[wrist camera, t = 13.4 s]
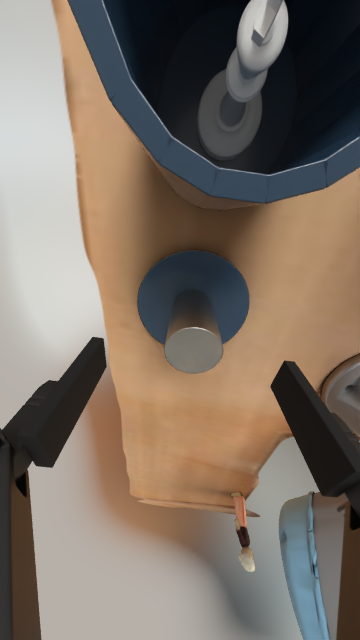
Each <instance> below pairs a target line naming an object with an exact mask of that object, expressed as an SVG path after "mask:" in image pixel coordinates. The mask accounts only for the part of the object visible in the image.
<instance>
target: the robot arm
mask: <svg viewBox="0 0 360 640" xmlns="http://www.w3.org/2000/svg"><path fill="white" fill-rule="evenodd" d="M105 368H106V357H105V348H104V339H103V338H97V337H92V338H91V340H90V341H89V342H88V344H87V345H86V346H85V347H84V349H83V350H82V351H81V353H80V354H79V355H78V357H77V358H76V359H75V360H74V362H73V363H72V364H71V366H70V367H69V368H68V369H67V371H66V372H65V373H64V375H63V376H62V377H61V378H60V380H59V381H51V380H49V381H47V382H46V383H44V384H43V385H42V386H40V387H39V388H38V389H37V390H36V391H35V393H34V394H33V395H32V397H31V398H29V400H28V401H27V402H26V403H25V405H23V406H22V408H21V409H20V410H19V411H18V412H17V414H16V415H15V416H14V417H13V418H12V419H11V420H10V422H9V423H8V424H7V425H6V426H5V427H4V429H3V430H1V429H0V640H41V629H40V617H39V603H38V591H37V578H36V565H35V553H34V540H33V528H32V514H31V501H30V489H29V476H28V470H27V468H28V467H29V465H30V464H31V462H32V461H33V462H34V464H35V465H36V466H41V467H51V468H52V467H53V466H54V464H55V462H56V460H57V458H58V456H59V454H60V452H61V451H62V449H63V447H64V445H65V443H66V441H67V439H68V438H69V436H70V434H71V432H72V430H73V428H74V426H75V425H76V423H77V421H78V419H79V417H80V415H81V413H82V412H83V410H84V408H85V406H86V404H87V402H88V400H89V398H90V397H91V395H92V393H93V391H94V389H95V387H96V385H97V384H98V382H99V380H100V378H101V376H102V374H103V372H104V370H105ZM270 387H271V389H272V391H273V393H274V395H275V397H276V399H277V401H278V404H279V406H280V408H281V410H282V412H283V414H284V416H285V418H286V421H287V423H288V425H289V427H290V429H291V431H292V433H293V436H294V438H295V440H296V442H297V444H298V446H299V448H300V450H301V453H302V455H303V456H304V459H305V461H306V463H307V465H308V467H309V469H310V472H311V474H312V476H313V478H314V480H315V482H316V484H317V487H318V489H319V491H320V492H318V493H314V492H313V491H311V492H309V493H308V495H305V496H301V497H298V498H294V499H291V500H288V501H287V502H285V503H284V505H283V506H282V508H281V512H280V516H279V538H280V547H281V555H282V561H283V567H284V572H285V577H286V581H287V586H288V590H289V594H290V598H291V602H292V605H293V608H294V612H295V615H296V619H297V622H298V625H299V628H300V631H301V634H302V637H303V640H360V442H359V440H358V439H357V437H356V436H355V435H354V434H353V433H352V431H353V432H354V433H355V434H356V435H358V436H359V437H360V354H358V355H356V356H354V357H353V358H351V359H349V360H347V361H346V362H344V363H343V364H341V365H340V366H339V367H338V368H336V369H335V370H334V371H333V372H332V373H331V374H330V375H329V377H328V378H327V379H326V381H325V383H324V385H323V387H322V392H321V396H322V400H323V401H322V400H321V398H320V397H319V396H318V394H317V393H316V391H315V390H314V389H313V387H312V386H311V384H310V383H309V382H308V380H307V379H306V377H305V376H304V374H303V373H302V372H301V370H300V369H299V367H298V366H297V365H296V363H295V362H292V361H284V362H283V364H282V366H281V368H280V369H279V371H278V373H277V375H276V377H275V378H274V380H273V382H272V384H271V386H270ZM323 402H324V403H325V404H324V403H323ZM326 406H327V407H326ZM328 409H329V410H328ZM330 412H331V413H330ZM351 430H352V431H351Z"/></svg>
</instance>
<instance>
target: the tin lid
mask: <svg viewBox="0 0 360 640" xmlns="http://www.w3.org/2000/svg"><path fill="white" fill-rule="evenodd" d="M137 302H138V311H139V315H140V318H141V321H142V323H143V325H144V326H145V328H146V329H147V331H148V332H149V333H150V334H151V335H152V336H153V337H154V338H155V339H156V340H158V341H159V342H160V343H162V344H164V345H165V347H164V352H165V357H166V359H167V361H168V362H169V363H170V364H171V365H172V366H173V367H174V368H176V369H177V370H179V371H182V372H185V373H202V372H206V371H208V370H210V369H212V368H213V367H215V366H216V365H217V364H218V363H219V362H220V360H221V358H222V355H223V345H222V344H224V343H225V342H227V341H228V340H230V339H231V338H232V337H233V336H234V335H235V334H236V333H237V332H238V331H239V329H240V328H241V327H242V325H243V323H244V321H245V319H246V317H247V313H248V310H249V292H248V288H247V285H246V282H245V280H244V278H243V276H242V275H241V273H240V272H239V271H238V269H237V268H236V267H235V266H234V265H233V264H232V263H231V262H229V261H228V260H226V259H225V258H223V257H221V256H220V255H217V254H215V253H212V252H208V251H204V250H184V251H180V252H176V253H173V254H171V255H168V256H167V257H165V258H163V259H161V260H160V261H159V262H157V263H156V264H155V265H154V266H153V267H152V268H151V269H150V270H149V272H148V273H147V274H146V276H145V277H144V279H143V281H142V283H141V286H140V288H139V293H138V301H137Z"/></svg>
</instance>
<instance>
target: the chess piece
mask: <svg viewBox="0 0 360 640" xmlns="http://www.w3.org/2000/svg"><path fill="white" fill-rule="evenodd" d="M287 30H288V11H287V7H286V4H285V2H284V0H251V1H250V2H249V3H248V5H247V6H246V8H245V10H244V12H243V14H242V17H241V19H240V23H239V26H238V32H237V47H236V48H235V49H234V51H233V52H232V54H231V56H230V59H229V61H228V64H227V69H225V70H223V71H221V72H219V73H218V74H217V75H216V76H214V77H213V79H212V80H211V81H210V82H209V84H208V85H207V87H206V88H205V90H204V92H203V95H202V97H201V100H200V103H199V106H198V110H197V118H196V127H197V134H198V138H199V141H200V143H201V145H202V147H203V149H204V150H205V152H206V153H207V154H208V155H209V156H211V157H212V158H214V159H217V160H221V161H227V160H232V159H234V158H236V157H238V156H239V155H241V154H242V153H243V152H244V151H245V150H246V149H247V148H248V147H249V145H250V144H251V143H252V141H253V139H254V137H255V135H256V133H257V130H258V128H259V124H260V121H261V116H262V96H261V92H260V91H261V89H262V87H263V85H264V83H265V80H266V76H267V71H268V68H269V67H270V66H271V65H272V64H273V63H274V61H275V60H276V59H277V57H278V56H279V54H280V52H281V50H282V48H283V45H284V43H285V39H286V36H287Z"/></svg>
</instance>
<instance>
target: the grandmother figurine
mask: <svg viewBox="0 0 360 640" xmlns="http://www.w3.org/2000/svg"><path fill="white" fill-rule="evenodd" d="M231 496H232V497H233V501H234V505H235V509H236V519H235V524H236V531H237V534H238V537H239V540H240V544H241V546H242V547H243V548H242V551H241V554H239V556H238V557H239V560H240V562H241V564H242V565H243V567H244V568H245V569H246V570H247V571H249V572H252V571H254V570H255V565H254V562H253V553H252V551H251V549H250V548H249V547H248V546H249V545H250V540H249V535H248V532H247V523H246V508H245V498H244V497H243V496H241V493H239V492H236V493H232V494H231Z"/></svg>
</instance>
